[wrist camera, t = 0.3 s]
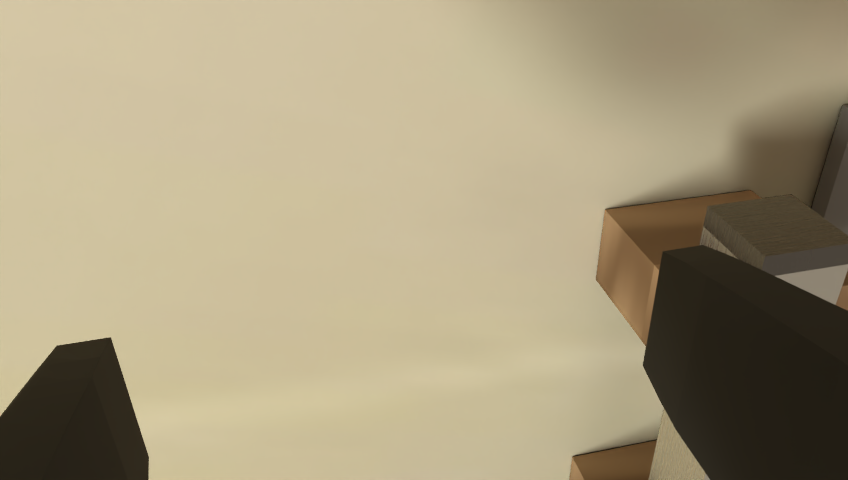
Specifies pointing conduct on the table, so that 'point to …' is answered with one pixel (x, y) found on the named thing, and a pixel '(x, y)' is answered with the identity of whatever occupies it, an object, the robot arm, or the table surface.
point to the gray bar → (835, 178)
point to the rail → (775, 254)
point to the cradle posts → (645, 296)
